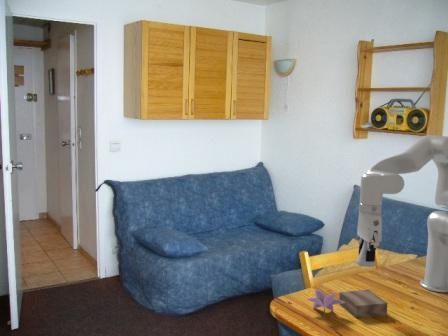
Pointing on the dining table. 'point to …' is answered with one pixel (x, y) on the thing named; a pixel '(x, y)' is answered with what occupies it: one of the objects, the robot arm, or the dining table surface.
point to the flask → (364, 257)
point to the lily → (324, 300)
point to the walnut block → (363, 304)
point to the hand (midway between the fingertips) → (366, 258)
